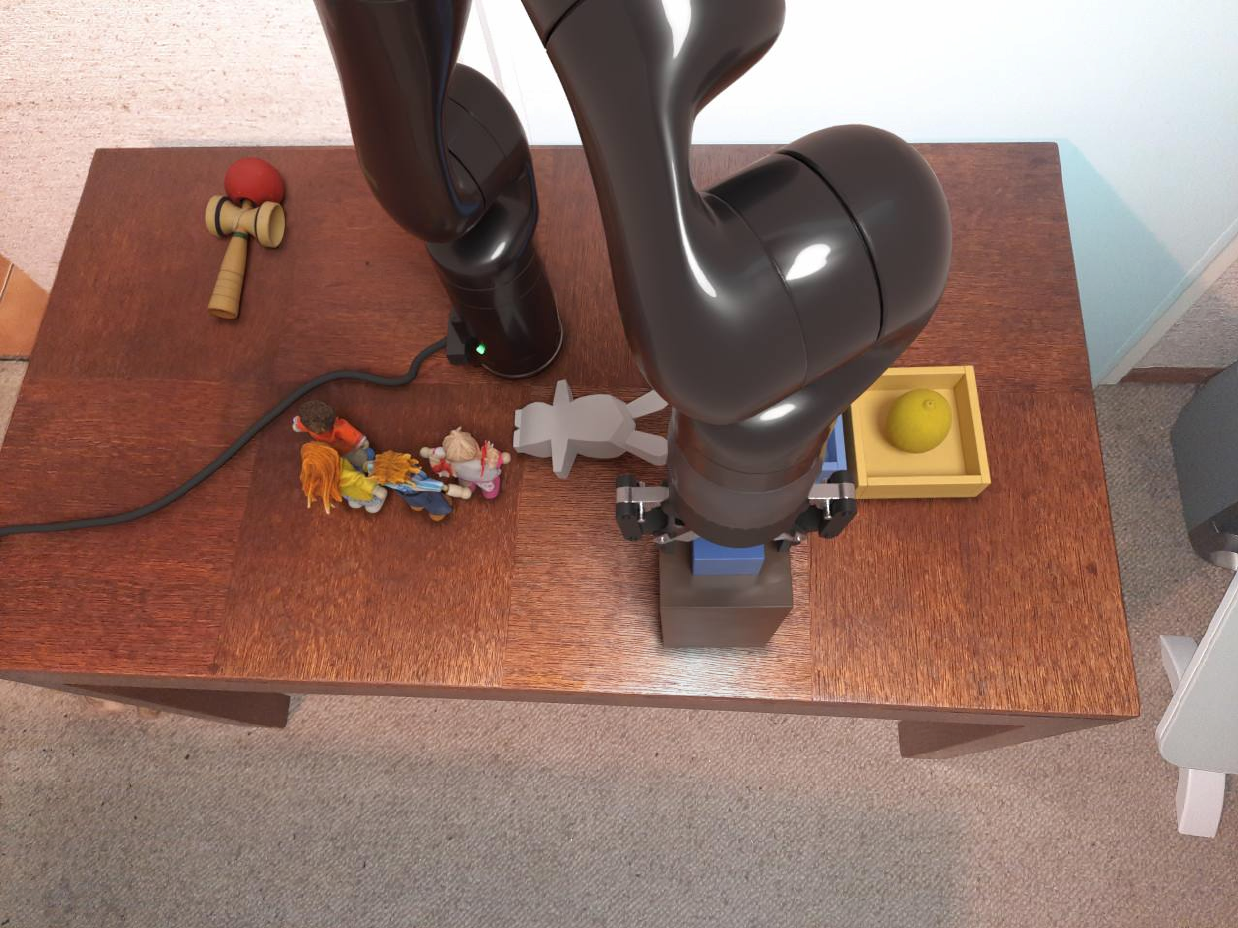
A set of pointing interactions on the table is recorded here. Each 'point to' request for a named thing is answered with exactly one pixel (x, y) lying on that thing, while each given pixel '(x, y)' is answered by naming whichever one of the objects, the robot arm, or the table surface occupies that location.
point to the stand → (723, 601)
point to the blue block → (725, 559)
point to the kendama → (243, 225)
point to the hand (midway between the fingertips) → (725, 538)
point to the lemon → (919, 420)
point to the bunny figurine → (587, 429)
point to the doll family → (389, 466)
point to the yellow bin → (920, 475)
